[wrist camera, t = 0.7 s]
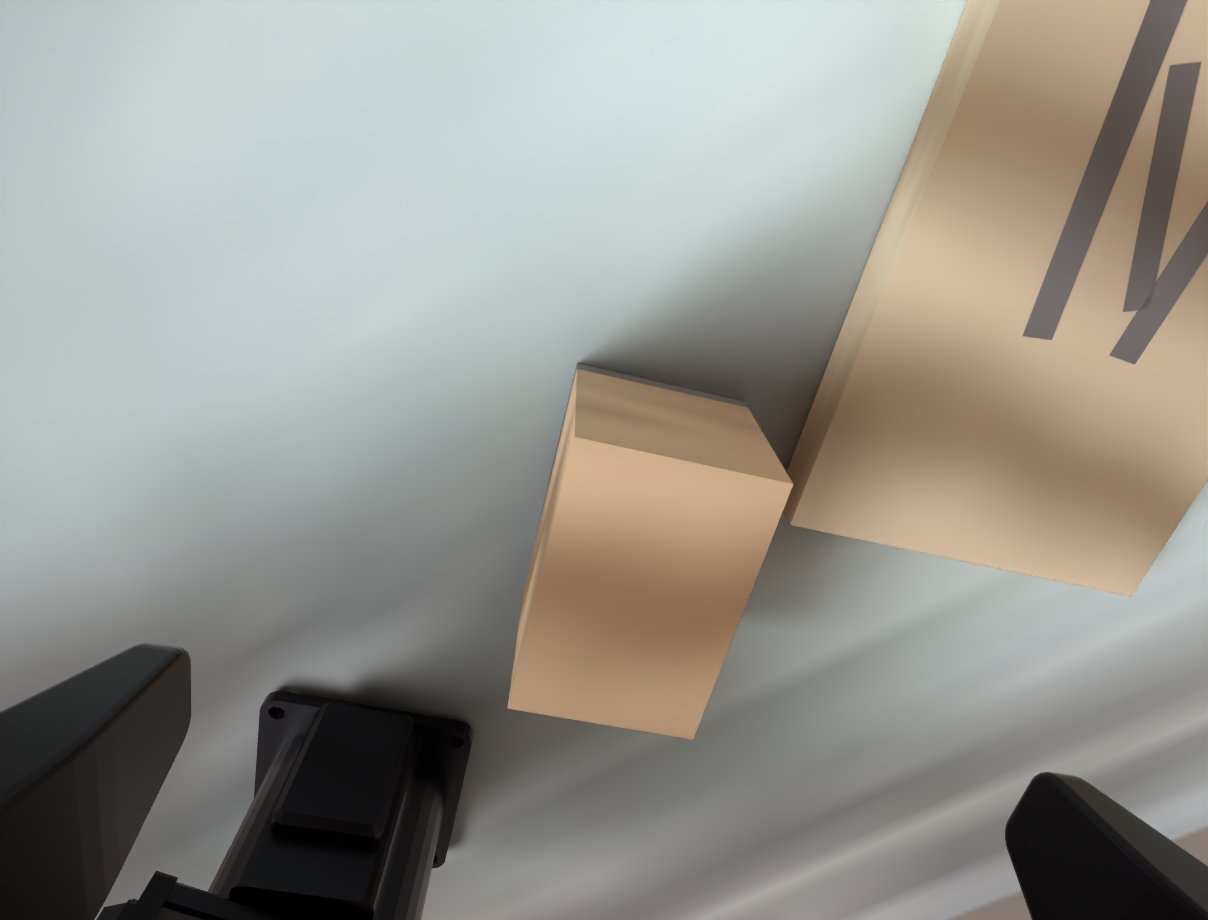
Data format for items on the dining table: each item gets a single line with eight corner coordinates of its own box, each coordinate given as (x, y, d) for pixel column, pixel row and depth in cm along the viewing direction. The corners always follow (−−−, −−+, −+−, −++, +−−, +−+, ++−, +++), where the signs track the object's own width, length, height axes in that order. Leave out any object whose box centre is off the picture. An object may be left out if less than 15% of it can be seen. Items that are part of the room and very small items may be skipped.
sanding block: (670, 612, 22) (693, 739, 17) (523, 585, 21) (507, 708, 17) (743, 400, 19) (793, 483, 14) (577, 362, 18) (574, 436, 14)
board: (1096, 566, 21) (1131, 597, 20) (776, 498, 20) (790, 525, 19) (1563, -195, 14) (1670, -231, 13) (1110, -371, 13) (1173, -432, 12)
